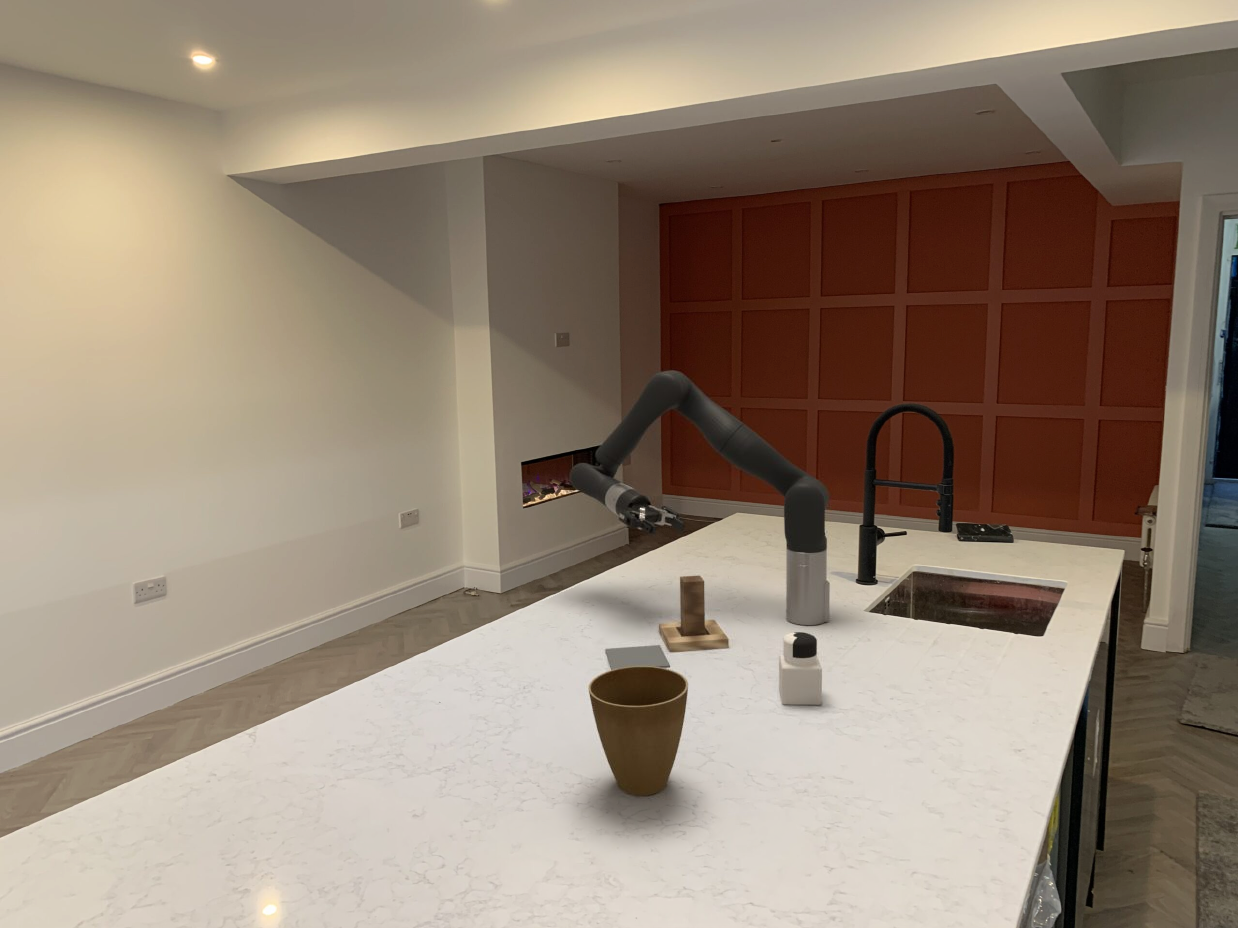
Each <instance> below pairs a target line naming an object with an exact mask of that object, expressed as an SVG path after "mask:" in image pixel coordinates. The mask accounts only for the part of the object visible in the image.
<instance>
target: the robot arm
mask: <svg viewBox="0 0 1238 928" xmlns="http://www.w3.org/2000/svg"><path fill="white" fill-rule="evenodd" d="M669 410H673V411H675V412H677V413H679V414H680V415H682V416H683V417H685V419H687V420H688V421H690V422H691V423H692V424H694V426H695V427H696V428H697V429H698V430H699V432H700V433H701V434H702V435H703V437H704V439H705V440H706V441H707V442H708V443H709V445H710V446H711V447H712V449H713V450H715V451H716V452H717V453H718V454H719V455H720V456H722V457H723V458H724V459H725V460H726V461H728V463H730V464H732V465H733V466H734V467H736V468H738V469H739V470H741V471H743V472H745V473H746V474H749V475H751V476H752V477H755V478H757V479H759V480H762V481H763V482H765V483H767V484H768V485H769V486H771V487H772V488H774V489H775V490H776V491H777V492H778V493H779V494H780V495H782V497H784V503H783V518H784V519H783V522H784V523H783V524H784V525H783V527H784V530H783V531H784V537H785V541H786V547H785V548H786V556H785V557H786V558H785V559H786V561H785V562H786V563H785V564H786V568H785V569H786V570H785V571H786V572H785V574H786V575H785V576H786V577H785V580H786V584H785V585H786V588H785V589H786V591H785V593H786V594H785V595H786V598H785V599H786V600H785V603H786V604H785V606H786V609H785V610H786V611H785V612H786V613H785V614H786V615H785V616H786V620H787V621H788V622H790V623H792V624H796V625H800V626H815V625H820V624H823V623H828V622H830V600H831V599H830V595H831V594H830V592H831V591H830V588H831V587H830V582H829V581H828V580H827V578H828V577H827V575H828V574H827V573H828V570H827V567H828V565H827V564H828V562H827V561H828V560H827V558H828V557H827V555H828V551H827V550H828V539H827V536H826V528H825V527H826V524H825V523H826V521H825V520H826V509H827V508H828V507H829V503H830V494H829V490H828V489H827V487H826V486H825V484H824V483H823V482H821V481H820V480H818V479H817V478H815V477H814V476H812V475H811V474H809V473H807V472H806V471H804V470H803V469H801V468H800V467H798V466H796V465H795V464H793V463H792V462H790V461H789V460H788V459H786V458H785V457H784V456H783V455H782V454H781V453H780V452H779V451H777V450H776V449H775V447H773V446H772V445H771V444H769V443H768V442H767V441H766V440H765V439H763V438H762V437H761V436H760V435H759V434H758V433H756V432H755V431H754V430H753V429H751V428H750V427H749V426H747V425H746V424H745V423H743V422H742V421H741V420H739V419H738V418H737V417H736V416H734V415H733V414H731V413H730V412H729V411H727V410H726V409H724V408H723V407H722V406H720V405H719V404H717V403H716V402H714V401H713V400H712V399H710V397H708V396H707V395H706V394H705V393H704V392H703V391H702V390H701V389H700V388H698V386H697V385H695V383H694V382H692V380H691V379H689V378H688V377H687V376H686V374H684V373H683V372H680V371H677V370H672V369H671V370H665V371H660V372H657V373H656V374H654V375H653V376H652V377H651V378H650V379H649V380H648V383H647V384H646V385H645V387H644V388H643V390H642V392H641V394H640V395H639V396H638V399H637V401H636V402H635V403H634V404H633V406H632V408H631V409H630V410H629V412H628V413H627V415H626V416H625V417H624V418H623V419H622V421H621V422H620V423H619V424H618V425H617V426H616V428H614V430H613V431H612V432H611V433H610V434H609V435H608V437H607V438H606V439H605V440H604V441H603V442H602V444H600V445H599V447H598V448H597V450H596V452H595V458H596V461H597V462H598V463H599V464H600V465H599V466H595V465H592V464H589V463H586V462H581V463H577V464H576V465H574V466H573V467H572V468H571V470H570V472H569V481H570V482H569V483H570V485H571V486H572V487H573V489H575V490H576V491H579V492H581V493H582V494H585V495H586V496H589V497H590V498H593V499H595V500H597V501H598V502H600V503H601V504H602V505H603V506H605V507H606V508H608V509H609V510H610V512H611V511H612V513H614V514H615V515H616V516H618V520H619V521H620V522H622V523H623V524H624V525H625V526H627V527H628V528H630V529H631V530H634V529H636V528H637V529H638V530H642V531H645V532H646V533H647V534H648V535H651V536H654V535H655V534H656V532H657V531H656V530H657V526H656V525H659V526H664V525H667V526H670V528H672V529H675V530H676V531H678V532H680V533H683V532H684V530H685V526H686V524H685V523H684V522H683V521H682V520H680V517H681V513H678V512H677V511H676V510H675V511H674V510H673V509H672V508H671V507H670V508H669V506H666V505H661V508H657V506H654V505H652V503H651V501H650V499H649V497H648V496H646V495H645V494H643V493H642V492H640V491H638V490H637V489H635V488H634V487H631V486H630V485H628V484H624V483H623V482H621V481H620V480H618V479H617V478H615V476H616V475H617V472H618V470H619V468H620V466H621V465H622V464H623V463H624V462H625V460H627V458H629V457H630V455H631V454H632V453H633V452H634V450H635V449H636V448H637V446H638V444H639V443H640V441H641V440H642V438H643V437H644V434H645V433H646V432H647V430H648V429H649V428H650V427H651V425H653V423H654V422H656V420H657V419H659V418H660V417H661V416H662V415H663V414H665V413H666V412H668V411H669ZM660 517H661V520H659V519H660ZM655 524H656V525H655Z"/></svg>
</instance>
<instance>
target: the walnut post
mask: <svg viewBox="0 0 1238 928" xmlns="http://www.w3.org/2000/svg"><path fill="white" fill-rule="evenodd" d="M679 588H680V589H679V593H680V594H679V595H680V596H679V597H680V598H679V601H680V622H681V637H686V636H701V635H705V620H706V618H705V617H706V615H705V614H706V612H705V609H706V608H705V604H706V603H705V599H706V598H705V580H704V579H703V577H702V576H701V575H687V576H686V575H685V576H679Z"/></svg>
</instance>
